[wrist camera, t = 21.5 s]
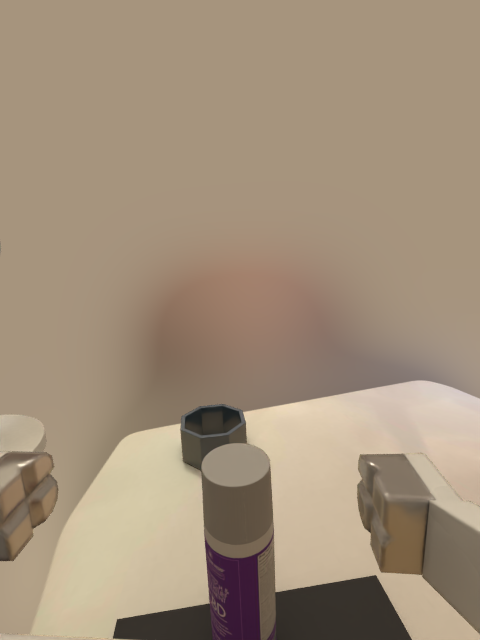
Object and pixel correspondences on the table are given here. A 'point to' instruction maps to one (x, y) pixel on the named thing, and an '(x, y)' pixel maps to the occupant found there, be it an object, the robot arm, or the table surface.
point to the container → (239, 542)
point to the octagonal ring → (210, 431)
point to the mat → (289, 616)
